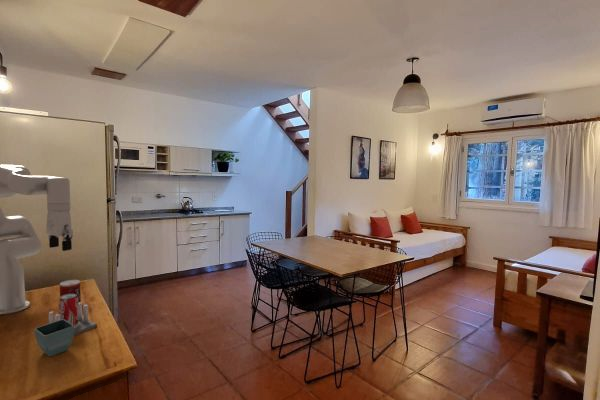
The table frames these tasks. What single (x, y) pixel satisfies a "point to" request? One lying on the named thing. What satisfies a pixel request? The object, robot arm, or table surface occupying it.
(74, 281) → the canned food
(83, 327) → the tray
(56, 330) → the flower pot
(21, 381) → the table surface
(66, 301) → the soda can
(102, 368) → the table surface
